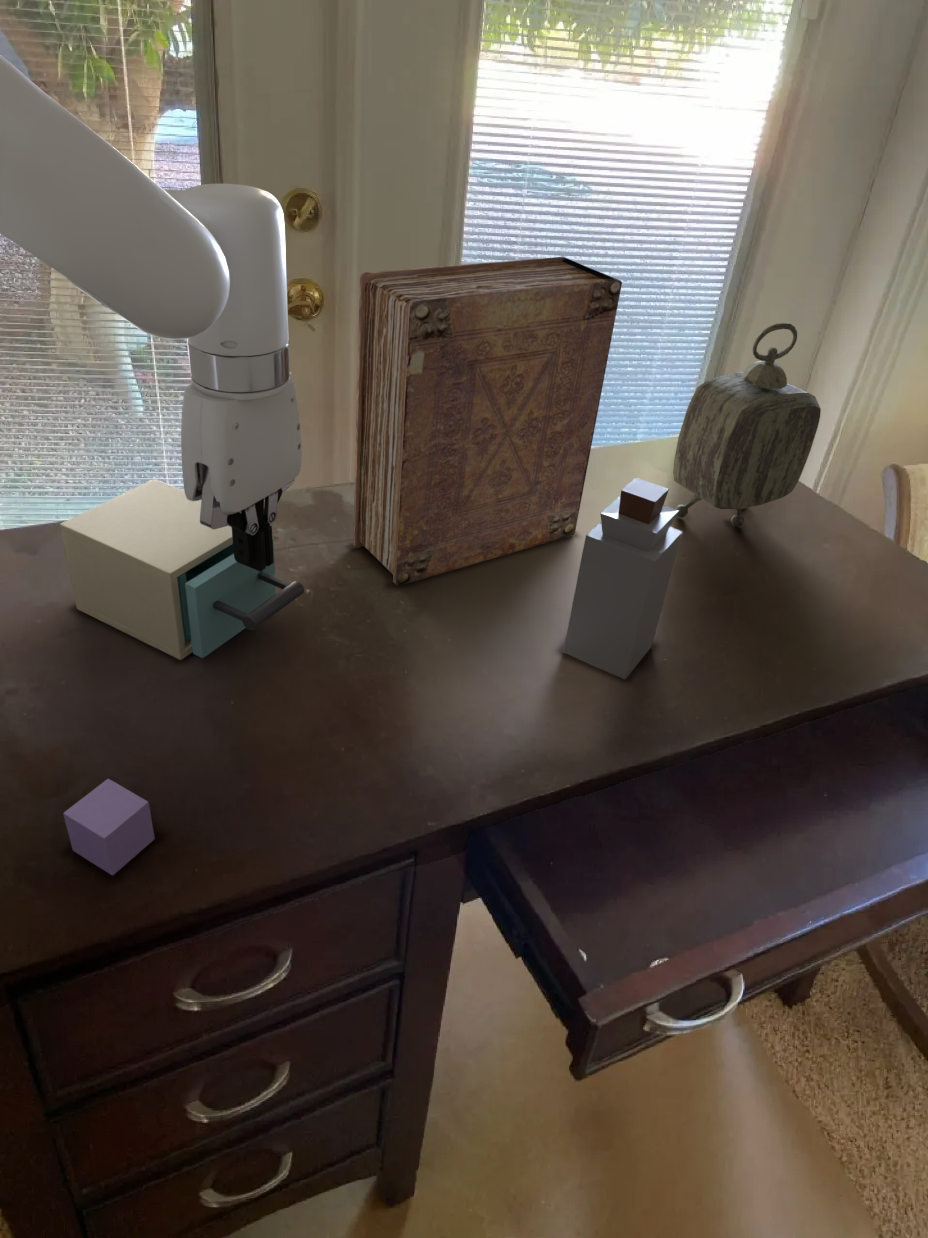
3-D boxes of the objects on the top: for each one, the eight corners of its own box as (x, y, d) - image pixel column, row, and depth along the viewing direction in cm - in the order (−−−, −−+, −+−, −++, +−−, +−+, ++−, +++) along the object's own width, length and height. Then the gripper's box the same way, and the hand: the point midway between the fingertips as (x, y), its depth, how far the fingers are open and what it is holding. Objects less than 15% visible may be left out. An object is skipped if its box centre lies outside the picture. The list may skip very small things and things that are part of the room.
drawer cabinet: (263, 602, 90) (259, 520, 85) (180, 660, 82) (169, 573, 76) (164, 558, 95) (154, 478, 89) (76, 609, 87) (58, 523, 81)
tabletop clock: (738, 493, 120) (795, 306, 106) (789, 524, 114) (857, 331, 100) (659, 513, 113) (708, 317, 99) (709, 548, 108) (769, 344, 93)
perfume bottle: (651, 646, 90) (694, 488, 80) (625, 679, 85) (666, 516, 75) (592, 621, 93) (626, 464, 82) (563, 652, 88) (594, 490, 78)
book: (393, 587, 95) (407, 301, 77) (352, 546, 101) (357, 272, 83) (575, 535, 107) (623, 279, 90) (529, 501, 113) (566, 254, 96)
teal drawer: (316, 623, 87) (315, 555, 82) (244, 679, 79) (239, 607, 75) (182, 564, 93) (174, 498, 88) (104, 610, 85) (91, 541, 81)
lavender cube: (112, 876, 62) (104, 838, 60) (72, 850, 64) (62, 813, 61) (155, 839, 65) (148, 801, 63) (115, 815, 67) (108, 778, 64)
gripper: (265, 328, 75) (275, 516, 86) (130, 378, 64) (161, 586, 75) (337, 349, 73) (338, 541, 83) (209, 406, 62) (229, 617, 73)
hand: (254, 562), depth 79 cm, fingers closed
